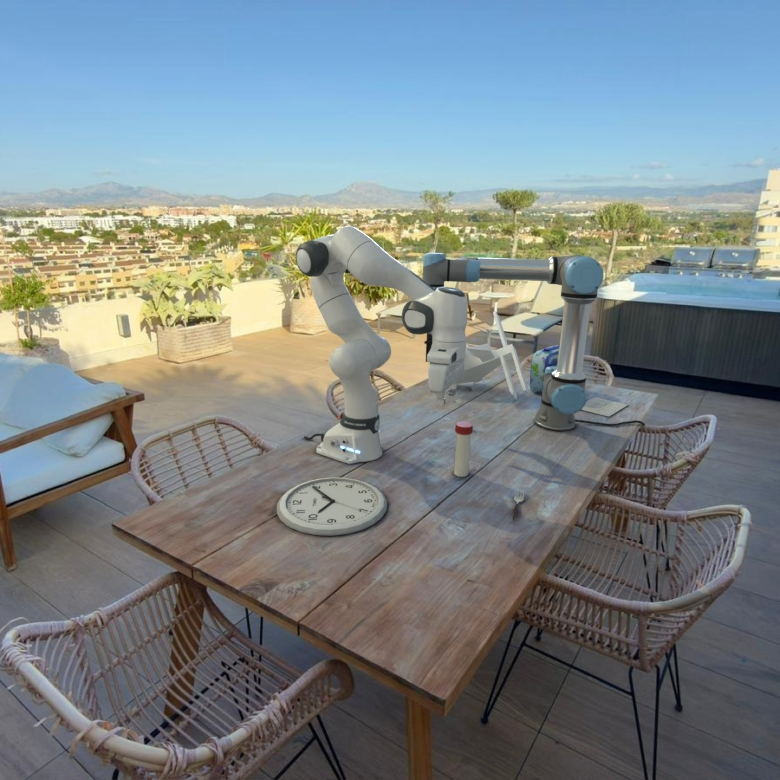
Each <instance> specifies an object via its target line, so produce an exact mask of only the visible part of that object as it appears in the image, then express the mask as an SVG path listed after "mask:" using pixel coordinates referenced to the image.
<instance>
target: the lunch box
mask: <svg viewBox="0 0 780 780" xmlns="http://www.w3.org/2000/svg"><path fill="white" fill-rule="evenodd" d="M559 346H560V345H551V346H548V347H544V348H543V349H539V350H536V351H535V352H534V354H533V356H532V358H531V363H530V374H529V391H532V392H536V393H540V394H542V392H543V382H544V373H545V369H546V368H547V367H553V366H557V364H558V355H559Z"/></svg>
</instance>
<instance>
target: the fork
mask: <svg viewBox="0 0 780 780" xmlns="http://www.w3.org/2000/svg"><path fill="white" fill-rule="evenodd" d="M525 490H526V489H525V488H523V489H521V490H520V487H519V488H516V489H515V493H514V497H513V500H514V501H515V502H516V503H515V505H514V507H513V511H512V521H514V520H515V518H516V516H517V514H518V513H519V512H518V511H519V503H522V502H523V501H524V499H525Z"/></svg>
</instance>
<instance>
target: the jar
mask: <svg viewBox="0 0 780 780" xmlns="http://www.w3.org/2000/svg"><path fill="white" fill-rule="evenodd" d="M471 437H472V433H471V434H469V435H461V434H458V433H456V432H455V448H454V449H455V450H454V467H453V475H455V476H456V477H459V478H463V477H464V478H465V477H467V476H468V475H469V470H470V469H469V468H470V467H469V466H470V454H471V439H472V438H471Z"/></svg>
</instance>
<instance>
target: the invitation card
mask: <svg viewBox="0 0 780 780" xmlns="http://www.w3.org/2000/svg"><path fill="white" fill-rule="evenodd" d="M628 406H629V404H627V403H623V402H618V401H614V400H609V399H605V398H601V397H596V396H593V397H592V398H590V399H587V401H586V404H585V406H584V407H583V408H582V409H581V410H580V411H584V412H587V413H593V414H596V415H600V416H604V417H608V418H609V417H611V416H613V415H614V414H616V413H617V412H619V411H621V410H623V409H624V408H626V407H628Z"/></svg>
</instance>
